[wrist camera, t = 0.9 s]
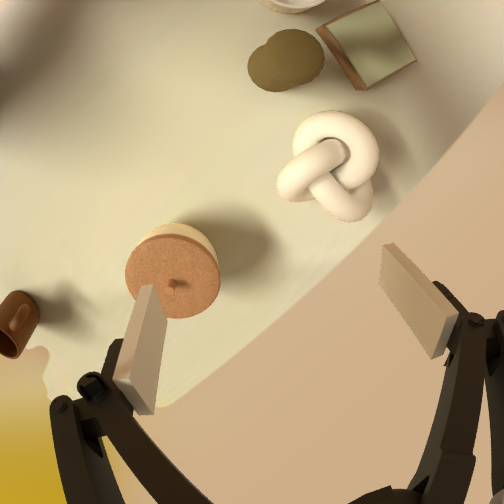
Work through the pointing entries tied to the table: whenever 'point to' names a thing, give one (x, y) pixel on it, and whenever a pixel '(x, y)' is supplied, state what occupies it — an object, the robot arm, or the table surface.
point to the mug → (17, 323)
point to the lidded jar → (175, 269)
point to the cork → (286, 60)
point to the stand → (367, 45)
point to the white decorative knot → (332, 165)
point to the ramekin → (290, 5)
